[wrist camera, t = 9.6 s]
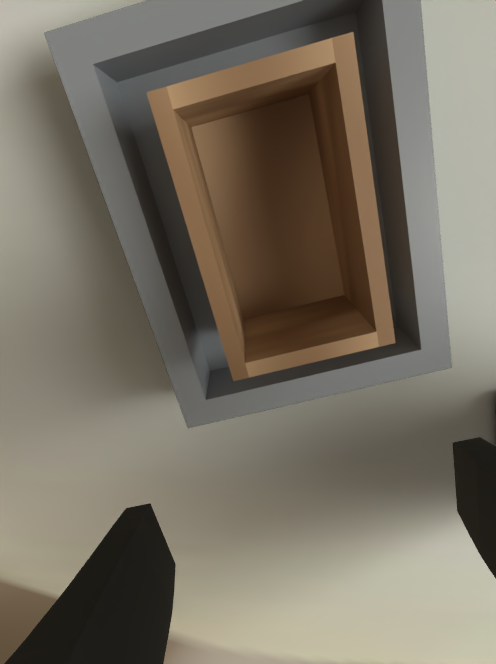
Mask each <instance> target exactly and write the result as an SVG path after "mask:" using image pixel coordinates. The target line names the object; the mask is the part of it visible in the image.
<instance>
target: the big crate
mask: <svg viewBox="0 0 496 664" xmlns="http://www.w3.org/2000/svg"><path fill="white" fill-rule="evenodd" d="M350 32H353V33H354V40H355V48H356V55H357V62H358V70H359V77H360V85H361V92H362V99H363V107H364V114H365V121H366V129H367V136H368V143H369V151H370V158H371V166H372V173H373V180H374V188H375V195H376V202H377V210H378V217H379V224H380V232H381V239H382V247H383V254H384V261H385V269H386V276H387V283H388V291H389V298H390V305H391V313H392V320H393V328H394V335H395V342H396V343H393V344H389V345H385V346H381V347H376V348H372V349H368V350H364V351H359V352H355V353H351V354H347V355H343V356H338V357H334V358H330V359H326V360H321V361H317V362H313V363H309V364H304V365H300V366H296V367H292V368H288V369H283V370H279V371H275V372H271V373H266V374H262V375H258V376H254V377H249V378H245V379H241V380H237V381H233V378H232V375H231V371H230V368H229V365H228V362H227V358H226V355H225V352H224V348H223V345H222V342H221V338H220V335H219V332H218V328H217V325H216V322H215V318H214V315H213V312H212V308H211V305H210V302H209V298H208V295H207V292H206V289H205V285H204V282H203V279H202V275H201V272H200V269H199V265H198V262H197V259H196V255H195V252H194V249H193V245H192V242H191V239H190V235H189V232H188V229H187V225H186V222H185V219H184V216H183V212H182V209H181V206H180V202H179V199H178V196H177V192H176V189H175V186H174V182H173V179H172V176H171V172H170V169H169V166H168V162H167V159H166V156H165V152H164V149H163V146H162V143H161V139H160V136H159V133H158V129H157V126H156V123H155V119H154V116H153V113H152V109H151V106H150V103H149V99H148V96H147V93H146V92H149V91H153V90H156V89H160V88H163V87H166V86H170V85H173V84H177V83H180V82H183V81H187V80H190V79H194V78H197V77H201V76H204V75H207V74H211V73H214V72H218V71H221V70H224V69H228V68H231V67H235V66H238V65H241V64H245V63H248V62H252V61H255V60H258V59H262V58H265V57H269V56H272V55H275V54H279V53H282V52H286V51H289V50H292V49H296V48H299V47H303V46H306V45H309V44H313V43H316V42H320V41H323V40H326V39H330V38H333V37H337V36H340V35H344V34H347V33H350ZM44 34H45V37H46V40H47V42H48V45H49V48H50V51H51V53H52V56H53V59H54V62H55V64H56V67H57V70H58V73H59V75H60V78H61V81H62V84H63V86H64V89H65V92H66V95H67V97H68V100H69V103H70V106H71V108H72V111H73V114H74V117H75V119H76V122H77V125H78V128H79V130H80V133H81V136H82V139H83V141H84V144H85V147H86V150H87V152H88V155H89V158H90V161H91V163H92V166H93V169H94V172H95V174H96V177H97V180H98V183H99V185H100V188H101V191H102V194H103V196H104V199H105V202H106V205H107V207H108V210H109V213H110V216H111V218H112V221H113V224H114V227H115V229H116V232H117V235H118V238H119V240H120V243H121V246H122V249H123V251H124V254H125V257H126V260H127V262H128V265H129V268H130V271H131V273H132V276H133V279H134V282H135V284H136V287H137V290H138V293H139V295H140V298H141V301H142V304H143V306H144V309H145V312H146V315H147V317H148V320H149V323H150V326H151V328H152V331H153V334H154V337H155V339H156V342H157V345H158V348H159V350H160V353H161V356H162V358H163V361H164V364H165V367H166V369H167V372H168V375H169V378H170V380H171V383H172V386H173V389H174V391H175V394H176V397H177V400H178V402H179V405H180V408H181V411H182V413H183V416H184V419H185V422H186V424H187V427H188V428H191V427H196V426H200V425H204V424H209V423H213V422H217V421H222V420H226V419H230V418H235V417H239V416H243V415H248V414H252V413H256V412H261V411H265V410H269V409H274V408H278V407H283V406H287V405H291V404H296V403H300V402H304V401H309V400H313V399H317V398H322V397H326V396H330V395H335V394H339V393H343V392H348V391H352V390H356V389H361V388H365V387H369V386H374V385H378V384H382V383H387V382H391V381H396V380H400V379H404V378H409V377H413V376H417V375H422V374H426V373H430V372H435V371H439V370H443V369H448V368H452V364H451V353H450V341H449V329H448V317H447V305H446V294H445V282H444V270H443V258H442V246H441V234H440V223H439V211H438V199H437V187H436V175H435V164H434V152H433V140H432V128H431V116H430V105H429V93H428V81H427V69H426V57H425V46H424V34H423V22H422V10H421V0H147V1H144V2H141V3H138V4H135V5H131V6H128V7H125V8H122V9H118V10H115V11H112V12H109V13H106V14H102V15H99V16H96V17H93V18H90V19H86V20H83V21H80V22H77V23H73V24H70V25H67V26H64V27H61V28H57V29H54V30H51V31H48V32H45V33H44Z"/></svg>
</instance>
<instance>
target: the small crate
mask: <svg viewBox="0 0 496 664" xmlns="http://www.w3.org/2000/svg"><path fill="white" fill-rule="evenodd" d="M146 93H147V96H148V99H149V103H150V106H151V109H152V113H153V116H154V119H155V123H156V126H157V129H158V133H159V136H160V139H161V143H162V146H163V149H164V152H165V156H166V159H167V162H168V166H169V169H170V172H171V176H172V179H173V182H174V186H175V189H176V192H177V196H178V199H179V202H180V206H181V209H182V212H183V216H184V219H185V222H186V225H187V229H188V232H189V235H190V239H191V242H192V245H193V249H194V252H195V255H196V259H197V262H198V265H199V269H200V272H201V275H202V279H203V282H204V285H205V289H206V292H207V295H208V298H209V302H210V305H211V308H212V312H213V315H214V318H215V322H216V325H217V328H218V332H219V335H220V338H221V342H222V345H223V348H224V352H225V355H226V358H227V362H228V365H229V368H230V371H231V375H232V378H233V381H237V380H241V379H245V378H249V377H254V376H258V375H262V374H266V373H271V372H275V371H279V370H283V369H288V368H292V367H296V366H300V365H304V364H309V363H313V362H317V361H321V360H326V359H330V358H334V357H338V356H343V355H347V354H351V353H355V352H359V351H364V350H368V349H372V348H376V347H381V346H385V345H389V344H393V343H396V342H395V335H394V328H393V320H392V313H391V305H390V298H389V291H388V283H387V276H386V269H385V261H384V254H383V247H382V239H381V232H380V224H379V217H378V210H377V202H376V195H375V188H374V180H373V173H372V166H371V158H370V151H369V143H368V136H367V129H366V121H365V114H364V107H363V99H362V92H361V85H360V77H359V70H358V62H357V55H356V48H355V40H354V33H353V32H350V33H347V34H344V35H340V36H337V37H333V38H330V39H326V40H323V41H320V42H316V43H313V44H309V45H306V46H303V47H299V48H296V49H292V50H289V51H286V52H282V53H279V54H275V55H272V56H269V57H265V58H262V59H258V60H255V61H252V62H248V63H245V64H241V65H238V66H235V67H231V68H228V69H224V70H221V71H218V72H214V73H211V74H207V75H204V76H201V77H197V78H194V79H190V80H187V81H183V82H180V83H177V84H173V85H170V86H166V87H163V88H160V89H156V90H153V91H149V92H146Z"/></svg>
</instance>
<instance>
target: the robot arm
mask: <svg viewBox="0 0 496 664" xmlns="http://www.w3.org/2000/svg"><path fill="white" fill-rule="evenodd" d="M453 455H454V469H455V483H456V497H457V511H458V513H459V515H460V517H461V519H462V521H463V523H464V525H465V527H466V529H467V531H468V533H469V535H470V537H471V538H472V540H473V542H474V544H475V546H476V548H477V550H478V552H479V553H480V555H481V557H482V558H483V560H484V561H485V563H486V565H487V566H488V568H489V569H490V571H491V572H492V574H493V575H494V577H495V578H496V446H494V445H492V444H491V443H489V442H487V441H485V440H484V439H482V438H480V437H479V438H474V439H469V440H464V441H459V442H454V443H453ZM174 582H175V562H174V560H173V557H172V555H171V552H170V550H169V548H168V545H167V543H166V540H165V538H164V535H163V533H162V531H161V528H160V526H159V523H158V521H157V518H156V516H155V514H154V511H153V509H152V506H151V504H145V505H140V506H135V507H130V508H126V509H125V511H124V512H123V513H122V514H121V516H120V517H119V518H118V520H117V521H116V522H115V524H114V525H113V526H112V528H111V529H110V531H109V532H108V533H107V535H106V536H105V537H104V539H103V540H102V541H101V543H100V544H99V546H98V547H97V548H96V550H95V551H94V552H93V554H92V555H91V556H90V558H89V559H88V560H87V562H86V563H85V564H84V566H83V567H82V568H81V570H80V571H79V572H78V574H77V575H76V576H75V578H74V579H73V580H72V582H71V583H70V584H69V586H68V587H67V588H66V590H65V591H64V592H63V594H62V595H61V596H60V597H59V599H58V600H57V601H56V602H55V603H54V605H53V606H52V607H51V608H50V610H49V611H48V612H47V613H46V615H45V616H44V617H43V618H42V620H41V621H40V622H39V623H38V624H37V626H36V627H35V628H34V629H33V631H32V632H31V633H30V635H29V636H28V637H27V638H26V640H25V641H24V642H23V643H22V644H21V645H20V646H19V648H18V649H17V650H16V651H15V652H14V653H13V655H12V656H11V657H10V658H9V659H8V660H7V661H6V663H5V664H163V662H164V656H165V651H166V645H167V640H168V634H169V628H170V622H171V616H172V609H173V597H174Z"/></svg>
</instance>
